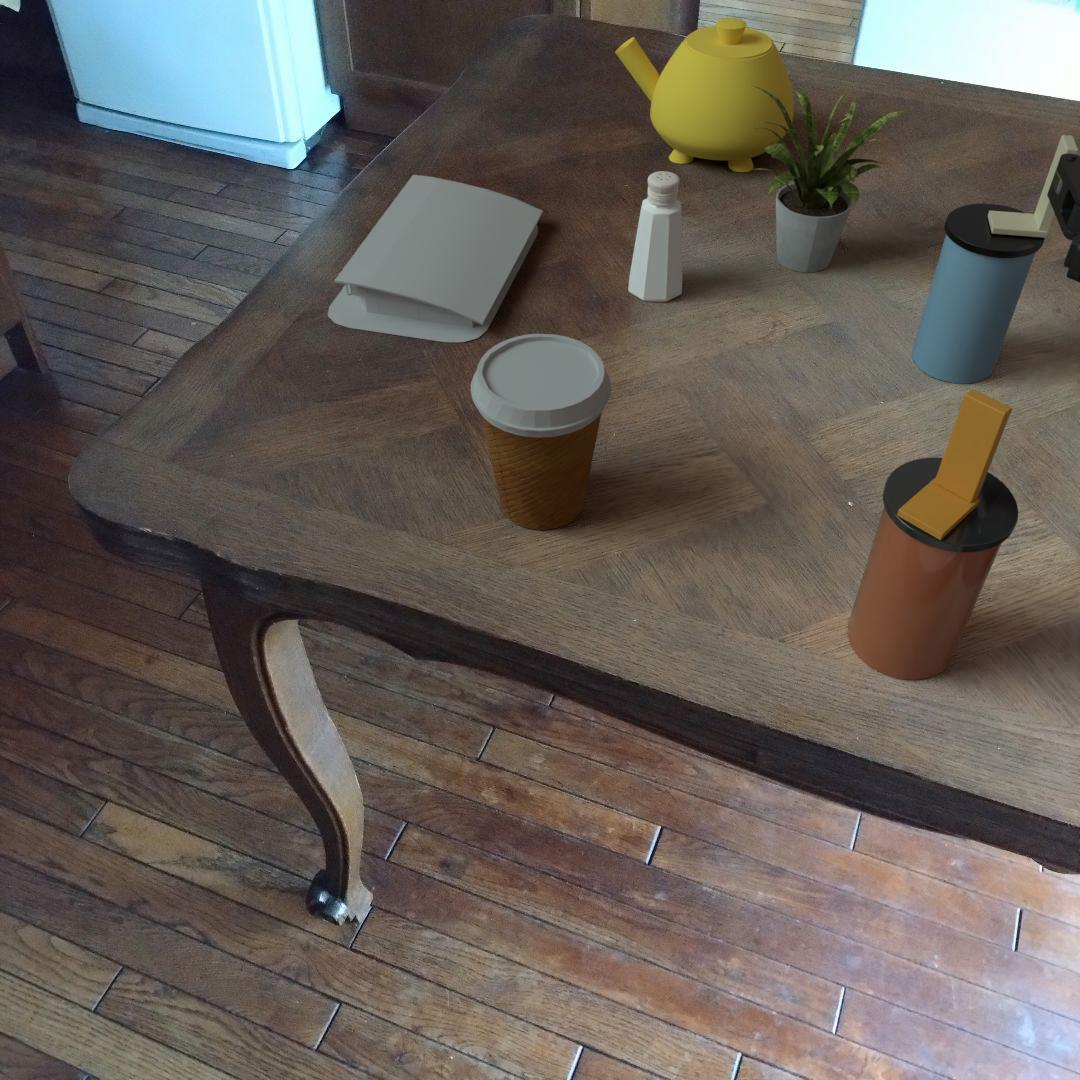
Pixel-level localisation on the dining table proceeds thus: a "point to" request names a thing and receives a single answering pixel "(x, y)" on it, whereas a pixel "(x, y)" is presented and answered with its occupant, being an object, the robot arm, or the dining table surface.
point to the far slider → (1044, 212)
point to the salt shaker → (658, 242)
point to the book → (436, 262)
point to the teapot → (716, 93)
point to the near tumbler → (925, 577)
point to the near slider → (960, 467)
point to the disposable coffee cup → (541, 424)
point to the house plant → (816, 188)
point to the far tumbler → (972, 296)
